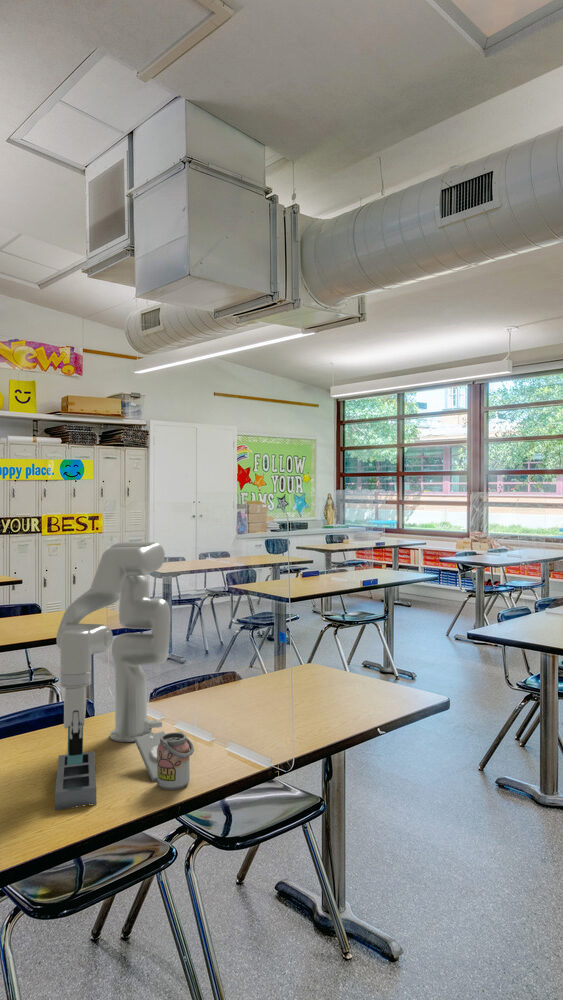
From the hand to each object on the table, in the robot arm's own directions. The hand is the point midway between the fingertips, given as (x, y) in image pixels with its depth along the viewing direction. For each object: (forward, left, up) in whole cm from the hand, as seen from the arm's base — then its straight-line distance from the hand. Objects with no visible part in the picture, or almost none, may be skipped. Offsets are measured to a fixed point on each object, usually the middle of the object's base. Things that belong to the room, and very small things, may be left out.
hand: (75, 750), depth 159 cm
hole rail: (0, 0, -9) cm, 9 cm away
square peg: (0, 0, -3) cm, 3 cm away
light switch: (-21, -4, -9) cm, 23 cm away
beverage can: (-24, +7, -9) cm, 27 cm away
